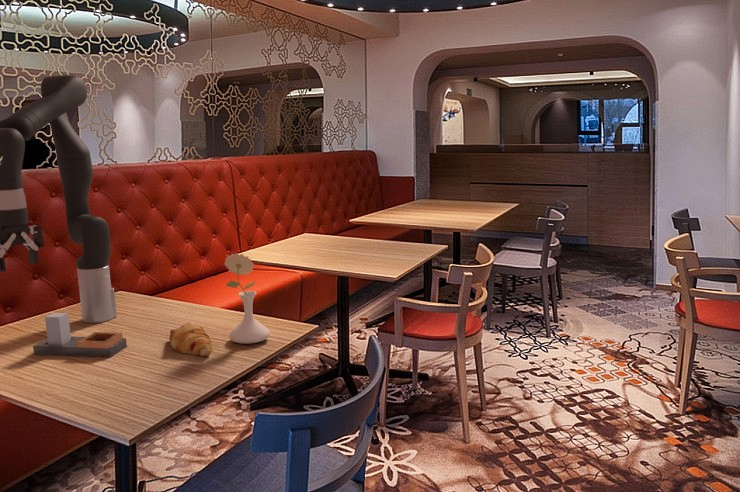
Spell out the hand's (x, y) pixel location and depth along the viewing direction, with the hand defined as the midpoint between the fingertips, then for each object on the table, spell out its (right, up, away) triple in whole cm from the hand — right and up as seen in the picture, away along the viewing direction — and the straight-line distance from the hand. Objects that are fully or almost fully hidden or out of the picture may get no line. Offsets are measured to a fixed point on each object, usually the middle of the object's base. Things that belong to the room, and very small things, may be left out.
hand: (18, 267), depth 155 cm
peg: (+8, -23, +6) cm, 25 cm away
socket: (+14, -23, +5) cm, 27 cm away
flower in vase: (+58, -21, +12) cm, 63 cm away
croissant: (+43, -23, +6) cm, 49 cm away
